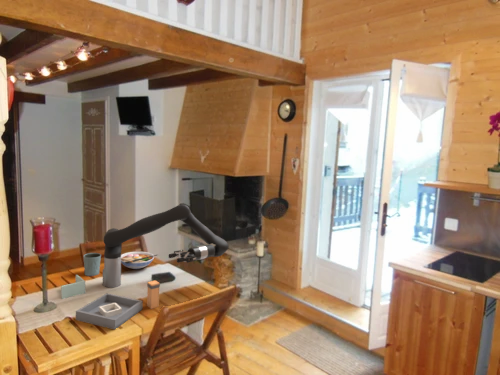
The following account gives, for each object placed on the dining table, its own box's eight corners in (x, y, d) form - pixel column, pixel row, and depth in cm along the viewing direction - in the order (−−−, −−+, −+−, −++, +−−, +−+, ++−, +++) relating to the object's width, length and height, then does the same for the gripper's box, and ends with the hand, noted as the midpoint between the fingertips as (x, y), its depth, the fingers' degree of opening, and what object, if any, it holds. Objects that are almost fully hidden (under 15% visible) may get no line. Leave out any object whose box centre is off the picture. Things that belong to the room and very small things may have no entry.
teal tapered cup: (79, 274, 228) (79, 256, 226) (91, 269, 237) (91, 251, 235) (93, 277, 225) (93, 258, 223) (104, 272, 234) (104, 253, 233)
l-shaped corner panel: (77, 286, 211) (77, 274, 210) (85, 294, 203) (85, 281, 202) (54, 292, 203) (54, 279, 202) (62, 300, 195) (62, 286, 194)
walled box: (75, 319, 174) (75, 311, 173) (106, 301, 195) (106, 293, 194) (115, 329, 168) (115, 320, 167) (142, 309, 189) (142, 300, 188)
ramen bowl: (142, 258, 262) (142, 247, 261) (162, 267, 248) (162, 255, 247) (110, 267, 243) (110, 255, 242) (129, 276, 229) (129, 264, 228)
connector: (151, 309, 189) (151, 285, 187) (146, 305, 193) (147, 282, 191) (159, 306, 192) (159, 283, 191) (154, 303, 196) (155, 280, 194)
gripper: (191, 243, 212) (166, 248, 201) (205, 249, 202) (180, 255, 191) (190, 256, 213) (166, 261, 202) (205, 263, 203) (180, 269, 192)
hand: (173, 258), depth 197 cm, fingers open, 8 cm apart
